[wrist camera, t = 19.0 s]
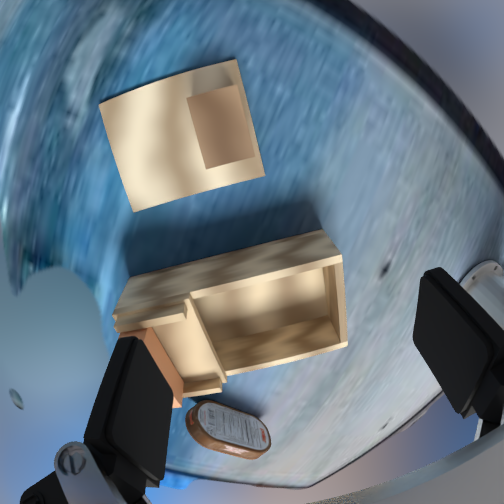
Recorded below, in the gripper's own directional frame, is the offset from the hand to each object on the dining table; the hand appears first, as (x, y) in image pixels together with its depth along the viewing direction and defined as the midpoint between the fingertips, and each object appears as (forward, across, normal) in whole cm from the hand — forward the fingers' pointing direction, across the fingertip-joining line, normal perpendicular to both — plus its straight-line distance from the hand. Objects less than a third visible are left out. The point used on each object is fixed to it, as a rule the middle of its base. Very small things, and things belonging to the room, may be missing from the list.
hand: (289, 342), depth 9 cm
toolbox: (+22, +4, +13) cm, 26 cm away
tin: (+22, +11, +35) cm, 43 cm away
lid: (+22, +5, -6) cm, 24 cm away
